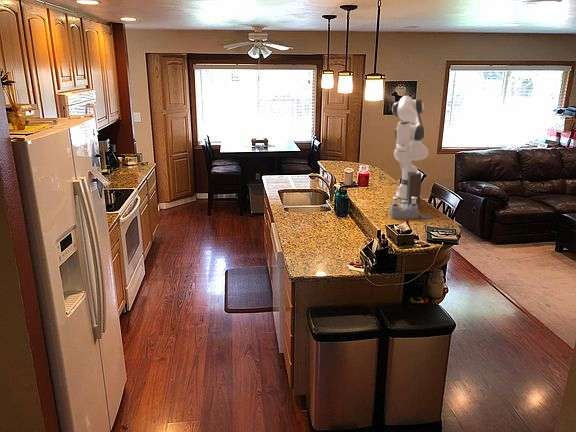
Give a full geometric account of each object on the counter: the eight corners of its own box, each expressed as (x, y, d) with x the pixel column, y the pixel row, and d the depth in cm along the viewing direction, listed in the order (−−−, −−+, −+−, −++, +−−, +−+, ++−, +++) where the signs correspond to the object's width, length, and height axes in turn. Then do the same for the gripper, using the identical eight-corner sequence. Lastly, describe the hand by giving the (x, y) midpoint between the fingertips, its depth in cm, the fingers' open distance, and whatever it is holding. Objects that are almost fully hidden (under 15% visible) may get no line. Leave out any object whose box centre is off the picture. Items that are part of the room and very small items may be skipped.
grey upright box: (420, 210, 313) (422, 174, 306) (407, 210, 314) (409, 174, 307) (417, 203, 331) (419, 169, 324) (405, 202, 332) (407, 168, 325)
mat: (417, 215, 302) (417, 214, 301) (429, 215, 301) (429, 214, 301) (420, 219, 294) (420, 218, 294) (432, 219, 294) (432, 218, 294)
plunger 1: (391, 205, 301) (392, 196, 299) (397, 205, 301) (397, 196, 299) (392, 206, 297) (393, 198, 296) (398, 206, 297) (398, 198, 296)
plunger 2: (410, 205, 300) (410, 196, 299) (415, 205, 300) (416, 196, 299) (411, 206, 297) (412, 197, 295) (417, 206, 297) (417, 197, 295)
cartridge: (399, 215, 303) (400, 200, 300) (406, 215, 303) (407, 200, 300) (400, 217, 299) (401, 202, 296) (408, 217, 299) (408, 202, 296)
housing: (389, 214, 306) (389, 203, 304) (415, 213, 305) (415, 202, 303) (392, 218, 296) (392, 207, 294) (418, 218, 296) (419, 207, 294)
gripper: (399, 144, 303) (398, 165, 306) (396, 148, 284) (396, 170, 288) (409, 145, 301) (408, 165, 305) (407, 148, 282) (406, 170, 286)
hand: (402, 168), depth 296 cm, fingers open, 8 cm apart
